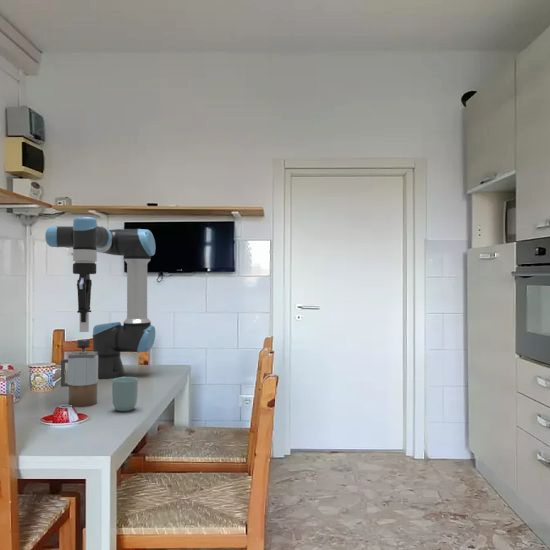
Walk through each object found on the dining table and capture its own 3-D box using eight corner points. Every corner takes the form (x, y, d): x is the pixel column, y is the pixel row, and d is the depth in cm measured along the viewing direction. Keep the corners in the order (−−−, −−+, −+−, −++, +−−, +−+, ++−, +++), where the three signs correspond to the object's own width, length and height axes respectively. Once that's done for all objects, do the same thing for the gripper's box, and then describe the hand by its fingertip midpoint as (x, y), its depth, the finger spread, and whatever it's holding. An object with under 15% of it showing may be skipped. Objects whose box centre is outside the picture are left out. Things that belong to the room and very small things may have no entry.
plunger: (74, 378, 171) (75, 339, 171) (95, 378, 172) (96, 338, 172) (69, 382, 164) (70, 341, 164) (92, 382, 165) (92, 341, 166)
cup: (130, 413, 155) (130, 381, 155) (107, 412, 157) (107, 380, 157) (141, 407, 163) (141, 377, 163) (119, 406, 164) (120, 376, 165)
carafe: (64, 401, 171) (64, 351, 171) (98, 400, 173) (99, 351, 173) (57, 407, 162) (58, 355, 163) (94, 406, 164) (95, 354, 165)
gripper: (77, 263, 175) (76, 329, 174) (68, 261, 162) (68, 334, 162) (99, 263, 176) (98, 329, 176) (92, 262, 163) (92, 333, 163)
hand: (84, 331), depth 169 cm, fingers closed
